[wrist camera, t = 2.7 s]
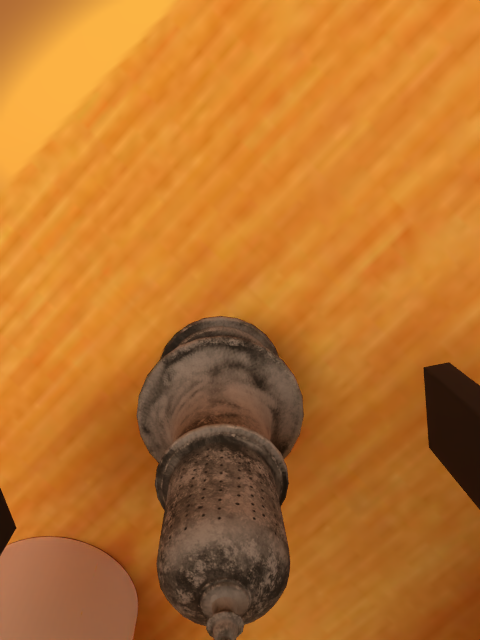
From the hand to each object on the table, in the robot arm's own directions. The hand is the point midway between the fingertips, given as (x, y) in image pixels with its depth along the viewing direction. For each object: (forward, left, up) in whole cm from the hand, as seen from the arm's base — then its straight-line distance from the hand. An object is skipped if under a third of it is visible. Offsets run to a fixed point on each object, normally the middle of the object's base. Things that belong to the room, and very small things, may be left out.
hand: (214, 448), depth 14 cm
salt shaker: (0, 0, -6) cm, 6 cm away
